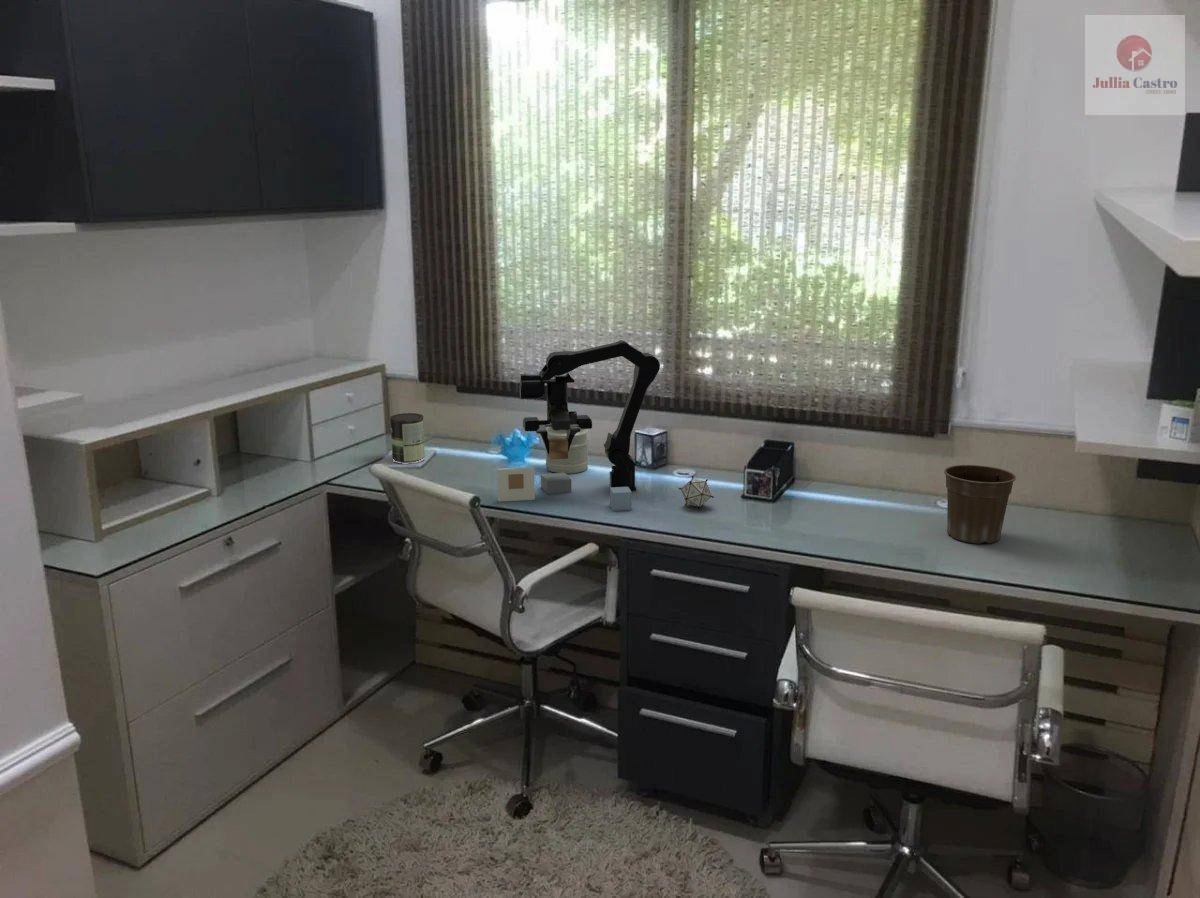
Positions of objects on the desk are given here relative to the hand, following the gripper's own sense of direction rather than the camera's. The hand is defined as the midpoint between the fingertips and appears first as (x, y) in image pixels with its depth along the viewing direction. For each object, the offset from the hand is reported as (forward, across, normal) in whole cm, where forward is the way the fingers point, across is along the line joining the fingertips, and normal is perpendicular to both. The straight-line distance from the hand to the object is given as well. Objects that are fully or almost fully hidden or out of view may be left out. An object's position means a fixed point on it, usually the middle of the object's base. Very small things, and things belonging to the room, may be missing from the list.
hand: (557, 453), depth 270 cm
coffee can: (+12, -41, +42) cm, 60 cm away
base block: (+11, 0, +2) cm, 12 cm away
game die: (+11, +34, -22) cm, 42 cm away
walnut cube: (+1, 0, 0) cm, 1 cm away
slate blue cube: (+11, +14, -18) cm, 25 cm away
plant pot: (+11, +94, -57) cm, 111 cm away
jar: (+11, +6, +22) cm, 26 cm away
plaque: (+11, -12, -6) cm, 18 cm away
